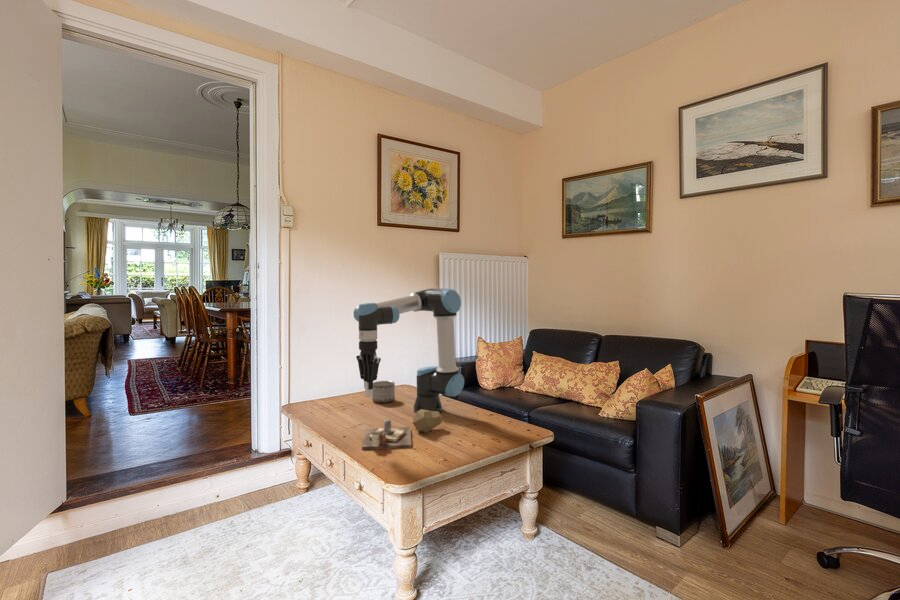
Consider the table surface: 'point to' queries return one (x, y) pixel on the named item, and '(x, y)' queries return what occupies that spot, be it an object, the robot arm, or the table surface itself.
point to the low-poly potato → (426, 420)
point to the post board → (389, 444)
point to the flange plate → (393, 438)
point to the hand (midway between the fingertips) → (368, 396)
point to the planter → (383, 391)
